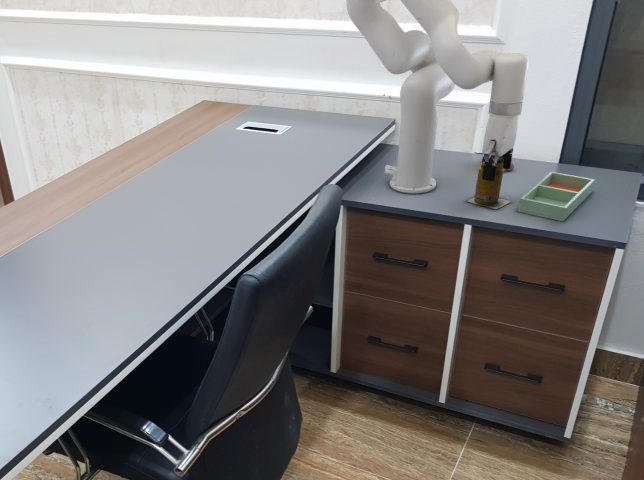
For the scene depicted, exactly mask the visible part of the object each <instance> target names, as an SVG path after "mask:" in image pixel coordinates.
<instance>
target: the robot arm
mask: <svg viewBox="0 0 644 480" xmlns="http://www.w3.org/2000/svg"><path fill="white" fill-rule="evenodd" d="M386 1H387V0H345V4H346V10H347V14H348V16H349V18H350V20H351V22H352V24H353V25H354V26H355V27H356V29H357V30H358V31H359V32H360V34H361V35H362V36H363V38H364V39H365V40H366V42H367V43H368V45H369V47H370V48H371V49H372V51H373V52H374V54H375V55H376V56H377V58H378V59H379V61H380V62H381V63H382V65H383V66H384V68H385V69H386V71H388V73H390V74H393V75H402V74H404V73H407V72H409V71H410V72H411V73H410V74H409V75H408V76H407V77H406V78H405V80H404V81H403V83H402V85H401V87H400V91H399V101H400V125H399V126H400V127H399V137H398V138H399V139H398V149H397V162H396V166H393V165H390V164H386V165H385V166H384V171H383V172H384V173H383V174H384V175H387V176H392V177H391V178H390V180H389V187H390V188H392V189H393V190H394V191H396V192H401V193H404V194H423V193H428V192H431V191H433V190H434V189H435V188H436V187H437V181H436V179H434V177H432V172H433V166H434V165H433V163H434V156H435V146H436V139H437V130H438V129H437V128H438V111H437V102H439V101H441V100H442V99H445V98H446V97H447V96H449V95H450V94H451V93H452V92H453V90H454V88H455V87H456V86H457V88H460V89H462V90H467V91H468V90H474V89H476V88H478V87H480V86H481V85H483V84H485V83H488V82H491V91H490V99H489V105H488V106H489V107H488V115H489V116H488V119H487V124H486V128H485V131H484V137H483V143H482V148H481V153H482V155H483V157H484V159H483V160H484V163H483V165H484V166H483V174H482V179H483V180H488V181H494V180H495V177H496V170H497V166H496V163H497V160H498V158H499V157H500V156H501V157H503V158H504V162H503V169H504V170H505V169H510V167H511V162H512V161H513V160H512V159H513V153H514V146H515V144H516V140H517V134H518V123H519V116H521V115H522V110H523V105H524V97H525V90H526V85H527V84H526V83H527V78H528V77H527V76H528V71H529V64H530V59H529V57H528V56H527V55H526V54H523V53H520V52H519V53H517V52H510V53H509V52H508V53H506V52H501V51H497V50H493V49H481V50H478V51H477V52H474V53H471V52H470V51H469V50H468V49H467V47H466V46H465V44H464V43H463V41H462V40H461V38H460V35H459V31H458V23H459V19H460V18H459V17H460V11H459V9H458V8H457V7H456V6H455V4H454V3H453V2H452V1H451V0H400V1H401V3H402V5H403V6H404V7H405V8H406V9H407V10H408V12H409V13H410V15H412V17H413V18H414V19H415V20H416V22H417V23H418V24H419V25H420V27H421V28H422V29H423V30H424V31H423V30H420V29H412V30H408V31H404V30H403V28H402V27H401V26H400V25H399V24H398V22H397V20H396V18H395V17H394V16H393V15H392V14H391V12H389V11H387V10H386V9H385V8H384V7H383V6H382V5H381V3H384V2H386ZM492 152H496V153H492ZM491 157H495V158H494V160H493V159H492V158H491Z"/></svg>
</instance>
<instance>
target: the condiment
mask: <svg viewBox="0 0 644 480" xmlns="http://www.w3.org/2000/svg"><path fill="white" fill-rule="evenodd" d="M491 158H492V159H493V160H494V158H495V157H491ZM483 159H484V156H483V157H482V158H481V163H480V166H479V168H478V172H477V180H476V185H475V191H474V197H473V198H470V199H468V200H467V202H469V203H471V204H475V205H478V206H481V207H485V208H489V209H494V210H498V209H500V208H502V207H504V206H506V205H509V203H511V202H512V201H511V200H507V199H505V198H500V194H501V187H502V183H503V182H502V181H503V177H504V176H503V175H504V171H505V169H504V168H503V162H504V158H503V157H501V156H500V157H499V158H498V160H497V163H496V166H497V170H496V177H495V180H494V181H488V180H483V179H482V174H483V166H484V165H483V163H484V160H483Z"/></svg>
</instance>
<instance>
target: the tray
mask: <svg viewBox="0 0 644 480" xmlns="http://www.w3.org/2000/svg"><path fill="white" fill-rule="evenodd" d="M595 181H596V179H594V178H588V177H583V176H579V175H578V176H577V175H572V174H568V173H567V174H566V173H561V172H556V171H550V172H549V173H548V174H547V175H545V176H544V177H543V178H542V179H541V180H540V181H538V182H537V183H536V184H535V185H534V186H533V187H532V188H530V189H529V191H527V192H526V193H525V194H524V195H523V196H521V197H520V198H519V204H518V207H517V208H518V209H517V212H519V213H522V214H523V213H524V214H527V215H532V216H538V217H540V218H541V217H542V218H546V219H550V220H555V221H559V222H564V221H565V220H566V219H567V218H568V217H569V216H570V215H571V214H573V212H574V211H575V210H577V208H578V207H579V206H580V205H581V204H582V203H583V202H584V201H585V200H586V199H588V197H589V196H590V195H591V194H592V193H593V189H594V186H595V185H594V184H595Z"/></svg>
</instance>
